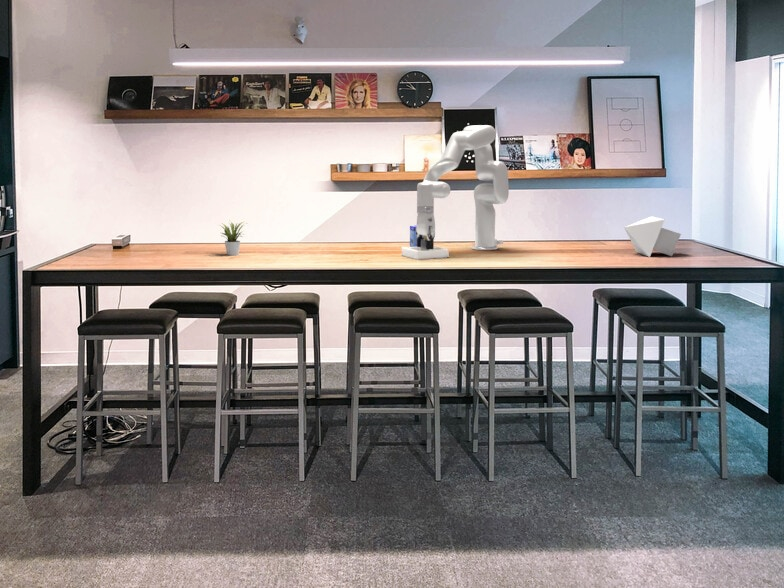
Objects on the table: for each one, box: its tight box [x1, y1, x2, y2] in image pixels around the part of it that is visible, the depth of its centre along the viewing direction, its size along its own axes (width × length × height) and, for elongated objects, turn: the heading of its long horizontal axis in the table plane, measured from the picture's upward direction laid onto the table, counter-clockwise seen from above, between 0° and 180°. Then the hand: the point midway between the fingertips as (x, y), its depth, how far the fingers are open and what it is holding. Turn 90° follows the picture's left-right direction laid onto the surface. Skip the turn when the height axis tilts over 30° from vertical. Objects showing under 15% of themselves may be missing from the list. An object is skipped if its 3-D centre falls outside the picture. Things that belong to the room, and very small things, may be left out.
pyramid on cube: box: [623, 215, 682, 258], centre depth 369 cm, size 17×24×18 cm
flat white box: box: [401, 245, 450, 261], centre depth 365 cm, size 16×16×4 cm
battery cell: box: [421, 238, 430, 251], centre depth 364 cm, size 4×4×8 cm
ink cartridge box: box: [409, 224, 430, 247], centre depth 383 cm, size 10×6×14 cm, turn 115°
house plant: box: [219, 220, 248, 256], centre depth 371 cm, size 14×14×16 cm
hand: (425, 248), depth 365 cm, fingers open, 9 cm apart
